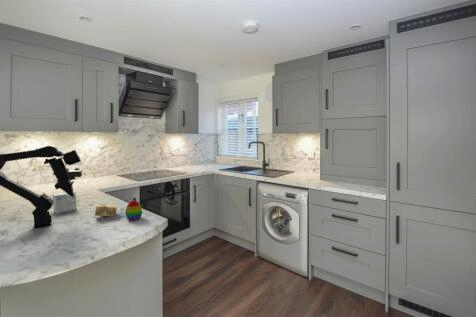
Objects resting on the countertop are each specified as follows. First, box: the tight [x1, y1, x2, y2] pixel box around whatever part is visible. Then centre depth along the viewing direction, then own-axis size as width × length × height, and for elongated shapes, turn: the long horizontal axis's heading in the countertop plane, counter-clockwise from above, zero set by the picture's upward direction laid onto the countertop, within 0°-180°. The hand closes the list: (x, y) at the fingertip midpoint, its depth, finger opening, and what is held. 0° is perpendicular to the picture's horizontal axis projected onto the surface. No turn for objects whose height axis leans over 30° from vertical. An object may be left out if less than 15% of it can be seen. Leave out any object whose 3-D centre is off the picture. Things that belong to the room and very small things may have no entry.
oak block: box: [94, 203, 118, 217], centre depth 138 cm, size 5×6×10 cm
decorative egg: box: [125, 200, 143, 221], centre depth 133 cm, size 8×8×10 cm
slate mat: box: [99, 210, 127, 221], centre depth 139 cm, size 12×10×2 cm
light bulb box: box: [51, 191, 78, 214], centre depth 151 cm, size 11×7×11 cm, turn 141°
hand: (72, 196), depth 131 cm, fingers closed
